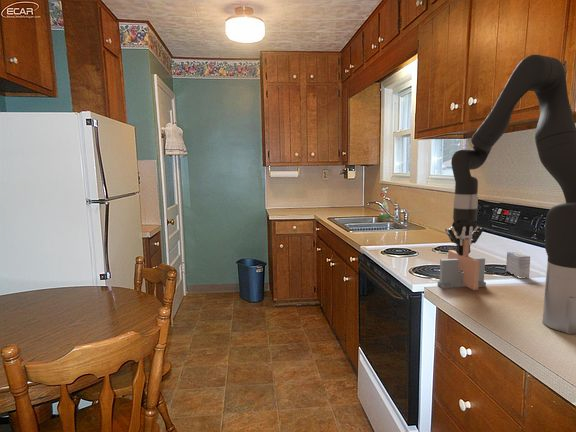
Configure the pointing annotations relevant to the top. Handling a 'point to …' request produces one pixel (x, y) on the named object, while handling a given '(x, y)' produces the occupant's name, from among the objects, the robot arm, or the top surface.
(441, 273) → the grey notched panel
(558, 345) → the top surface
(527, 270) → the medicine box
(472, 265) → the terracotta plate
